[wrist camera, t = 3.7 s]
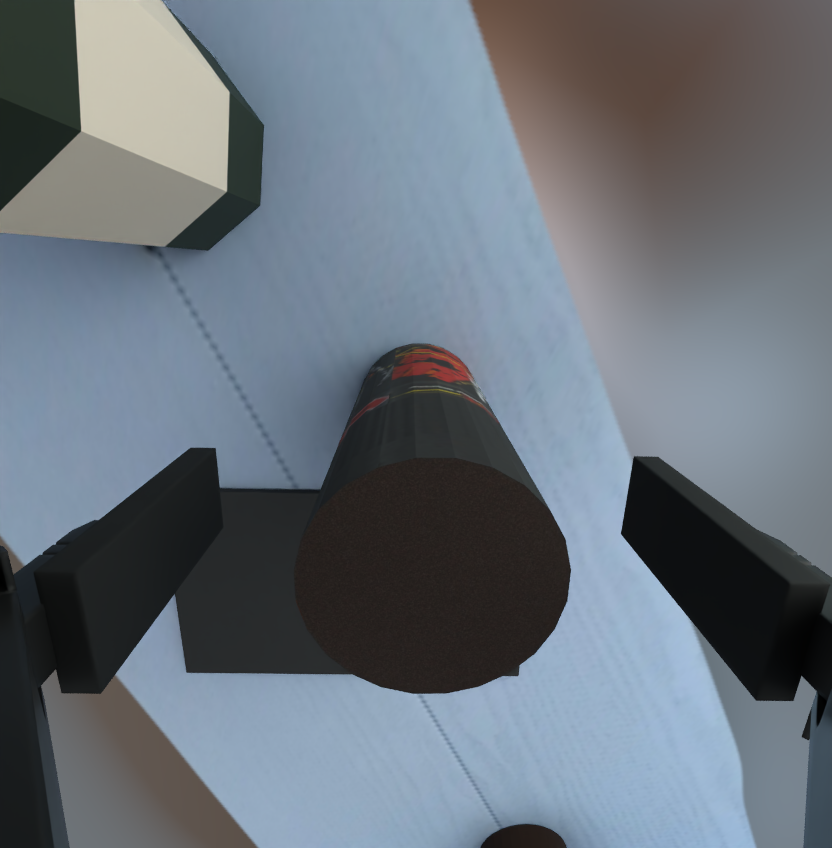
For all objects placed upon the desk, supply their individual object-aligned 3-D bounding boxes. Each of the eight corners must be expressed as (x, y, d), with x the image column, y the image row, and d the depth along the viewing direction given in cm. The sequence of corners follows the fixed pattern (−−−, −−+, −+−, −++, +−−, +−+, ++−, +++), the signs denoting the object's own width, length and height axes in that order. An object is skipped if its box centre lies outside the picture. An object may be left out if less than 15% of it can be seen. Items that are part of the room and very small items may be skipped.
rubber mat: (163, 487, 26) (159, 490, 26) (536, 493, 26) (538, 497, 26) (189, 667, 30) (186, 672, 29) (517, 671, 30) (518, 676, 30)
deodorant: (336, 412, 25) (239, 607, 11) (408, 318, 23) (408, 397, 9) (428, 477, 26) (451, 732, 12) (501, 392, 25) (629, 563, 10)
